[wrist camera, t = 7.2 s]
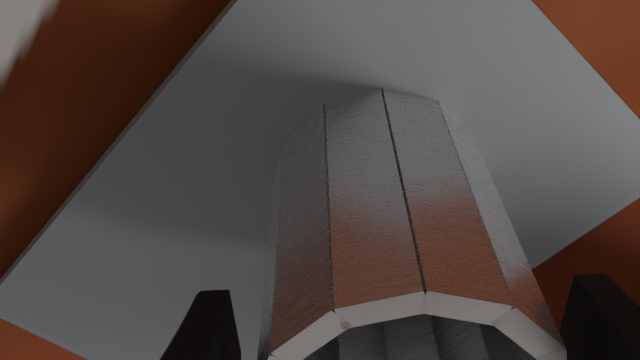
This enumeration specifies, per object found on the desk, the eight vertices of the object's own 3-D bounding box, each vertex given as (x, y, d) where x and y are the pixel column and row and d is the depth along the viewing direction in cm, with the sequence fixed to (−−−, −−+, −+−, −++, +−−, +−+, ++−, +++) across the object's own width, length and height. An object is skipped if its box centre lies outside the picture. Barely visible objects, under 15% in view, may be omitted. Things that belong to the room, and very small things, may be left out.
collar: (518, 180, 17) (627, 399, 11) (371, 284, 19) (397, 512, 13) (384, 47, 14) (432, 238, 9) (234, 184, 17) (194, 407, 11)
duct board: (665, 148, 17) (748, 239, 14) (270, 423, 25) (264, 523, 22) (373, -173, 13) (395, -149, 9) (-6, 286, 20) (-68, 388, 17)
